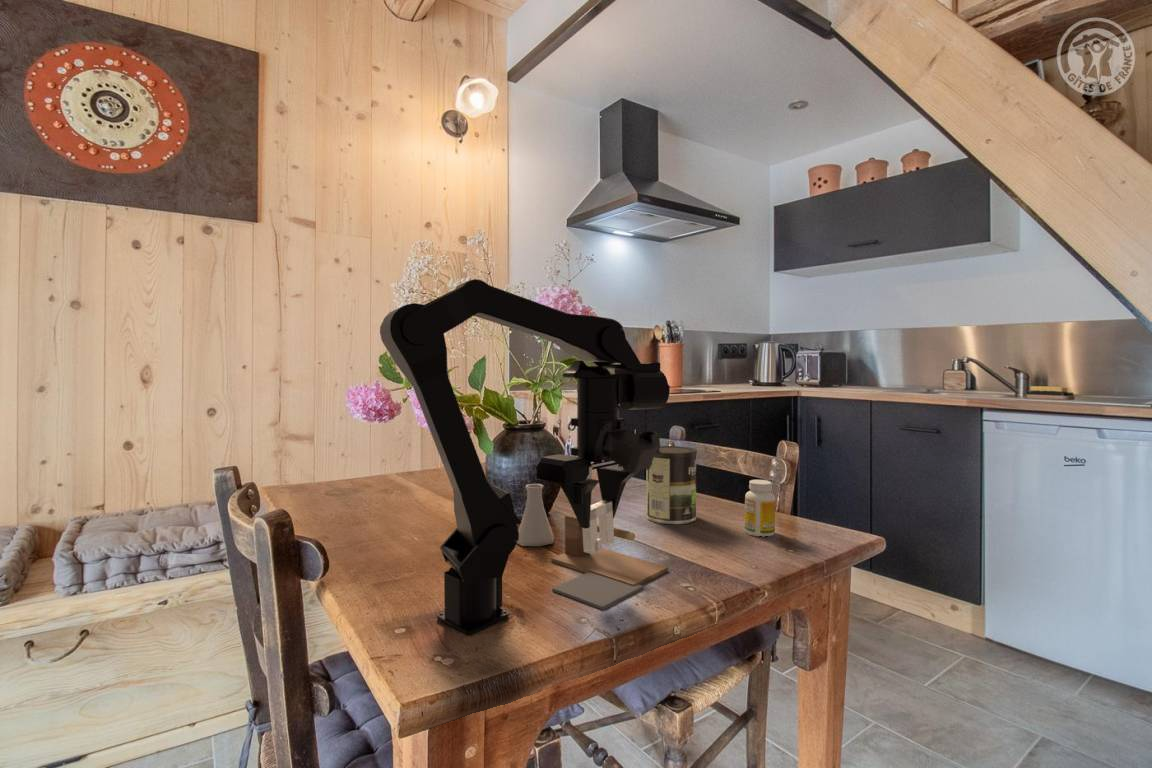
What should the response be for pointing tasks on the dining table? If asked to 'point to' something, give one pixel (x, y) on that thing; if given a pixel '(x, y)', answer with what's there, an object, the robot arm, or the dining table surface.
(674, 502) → the coffee can
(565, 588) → the slate coaster
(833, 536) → the dining table surface
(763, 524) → the supplement bottle
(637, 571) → the link stand
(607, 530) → the slotted rectangular block
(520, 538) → the flask
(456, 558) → the robot arm
